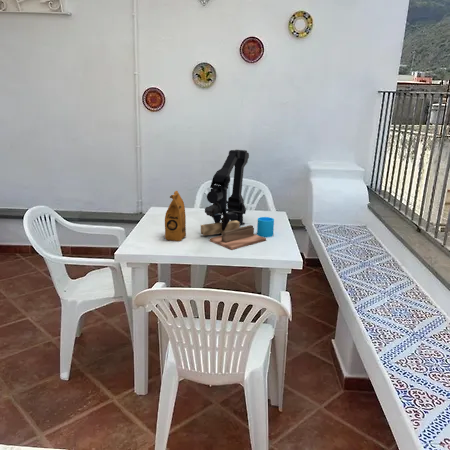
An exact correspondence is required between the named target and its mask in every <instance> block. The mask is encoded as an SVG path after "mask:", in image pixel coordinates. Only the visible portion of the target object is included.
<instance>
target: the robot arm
mask: <svg viewBox="0 0 450 450" xmlns="http://www.w3.org/2000/svg"><path fill="white" fill-rule="evenodd" d="M249 158H250V153H249V152H248V151H247V150H245V149H231V150H229V151H228V155H227V157H226V160H225V161H224V163H223V165H222V166H221V168H220V169H218V170H217V171H216V172H215V173H214V175H213V176H212V179H211V183H210V186H209V188H210V191H209V192H208V193H207V194H206V199H207V202H208V203H211V205H208V206H206V207H205V208H204V213H205V214H206V216H209V217H211V218H212V219H213V221H214V222H213V223H220V222H222V231H224V230H225V228H226V226H227V224H228V222H229V221H235V220H237V221H239V222H240V226H241V225H245V222H244V215H246V212H247V208H246V206H245V204H244V203H245V202H244V198H243V196H242V189H243V182H244V181H243V178H244V169H245V166H246V165H247V164H248V161H249ZM233 168H234V170H233ZM232 171H234V172H233V181H232V193H231V195H230V196H229V197H228V189H229V185H230V184H231V183H230V182H231V176H230V175H231V173H232Z"/></svg>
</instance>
